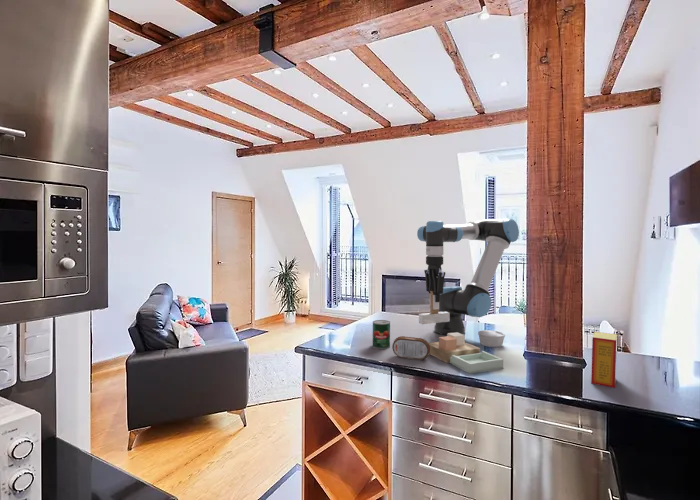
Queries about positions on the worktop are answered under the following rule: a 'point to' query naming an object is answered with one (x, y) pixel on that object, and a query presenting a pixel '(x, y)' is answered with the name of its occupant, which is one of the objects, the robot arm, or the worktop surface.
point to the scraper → (434, 314)
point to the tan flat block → (451, 351)
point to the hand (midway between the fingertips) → (434, 308)
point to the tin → (411, 347)
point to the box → (477, 362)
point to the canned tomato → (381, 334)
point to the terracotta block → (447, 343)
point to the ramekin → (491, 338)
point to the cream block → (458, 338)
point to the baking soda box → (604, 359)
